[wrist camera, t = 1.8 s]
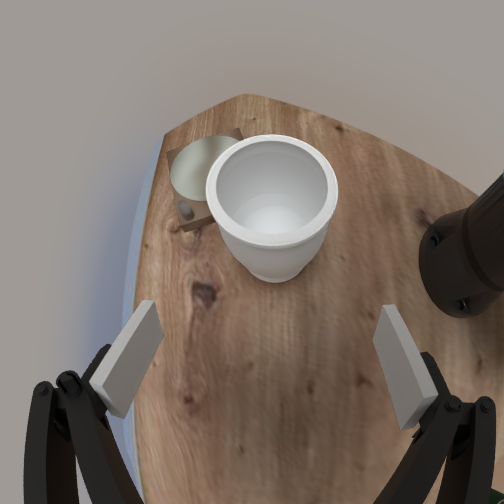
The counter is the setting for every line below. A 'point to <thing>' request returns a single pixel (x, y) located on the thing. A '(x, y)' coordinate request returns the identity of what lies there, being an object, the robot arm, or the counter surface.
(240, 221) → the jar
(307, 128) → the counter surface
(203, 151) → the seat board
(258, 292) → the counter surface
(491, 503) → the beer bottle
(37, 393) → the robot arm
